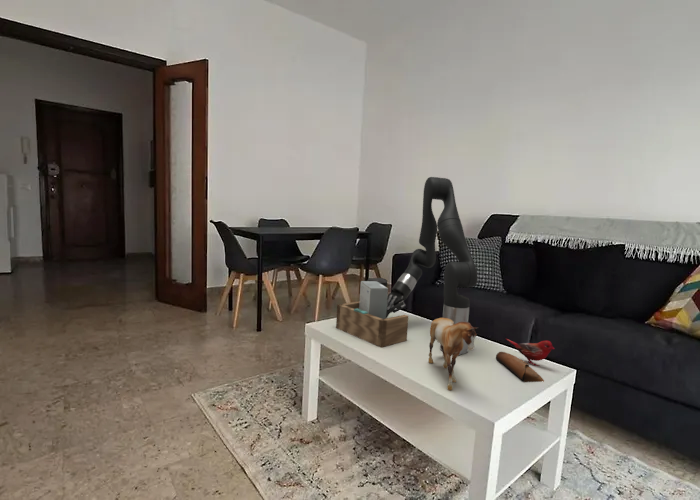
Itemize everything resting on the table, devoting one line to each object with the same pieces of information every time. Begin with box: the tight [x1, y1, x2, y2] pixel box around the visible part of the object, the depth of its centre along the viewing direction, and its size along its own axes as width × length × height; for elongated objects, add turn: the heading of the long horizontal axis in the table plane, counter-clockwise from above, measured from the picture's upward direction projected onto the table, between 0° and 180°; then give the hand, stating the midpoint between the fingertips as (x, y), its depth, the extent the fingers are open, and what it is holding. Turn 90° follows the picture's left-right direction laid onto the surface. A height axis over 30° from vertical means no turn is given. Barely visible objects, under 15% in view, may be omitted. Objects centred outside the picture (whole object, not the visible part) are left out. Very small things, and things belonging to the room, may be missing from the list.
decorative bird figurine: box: [505, 338, 555, 367], centre depth 142 cm, size 3×18×10 cm, turn 39°
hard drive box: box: [359, 280, 389, 319], centre depth 166 cm, size 16×8×20 cm, turn 13°
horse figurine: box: [428, 317, 479, 391], centre depth 127 cm, size 31×8×21 cm, turn 2°
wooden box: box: [335, 300, 409, 348], centre depth 163 cm, size 27×14×11 cm, turn 40°
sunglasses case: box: [495, 351, 545, 383], centre depth 135 cm, size 18×7×7 cm
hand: (382, 317), depth 167 cm, fingers closed
